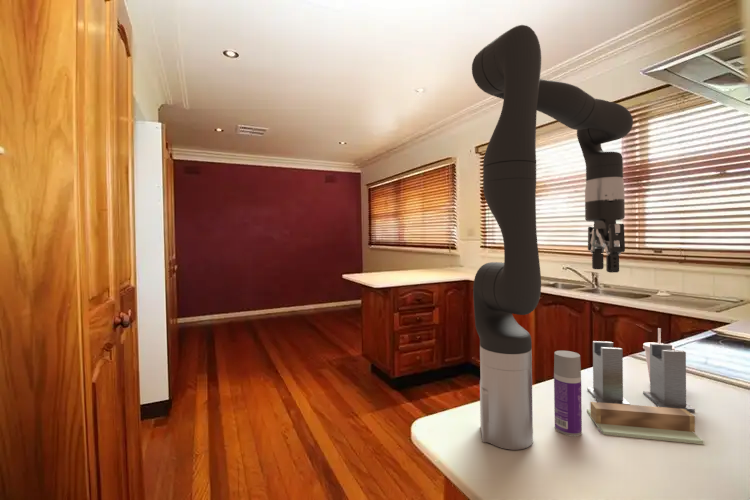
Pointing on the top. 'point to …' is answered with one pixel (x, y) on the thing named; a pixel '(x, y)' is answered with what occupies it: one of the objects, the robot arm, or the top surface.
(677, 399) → the post right
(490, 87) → the robot arm
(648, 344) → the smoothie
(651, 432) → the mat
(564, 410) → the container
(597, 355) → the post left
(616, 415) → the rail
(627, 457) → the top surface
